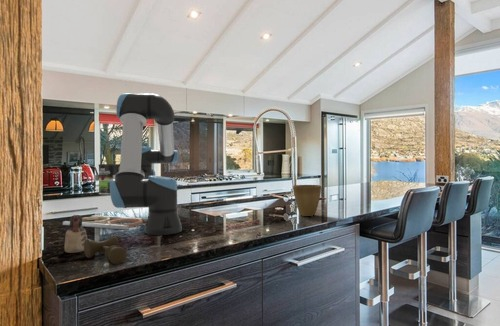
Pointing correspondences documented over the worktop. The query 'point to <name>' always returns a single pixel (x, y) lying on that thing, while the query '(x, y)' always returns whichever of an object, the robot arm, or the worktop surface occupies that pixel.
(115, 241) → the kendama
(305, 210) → the plant pot
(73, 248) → the figurine
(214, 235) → the worktop surface
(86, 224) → the flat rectangular tray
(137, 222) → the marked ring
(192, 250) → the worktop surface
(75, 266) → the worktop surface
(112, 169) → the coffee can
